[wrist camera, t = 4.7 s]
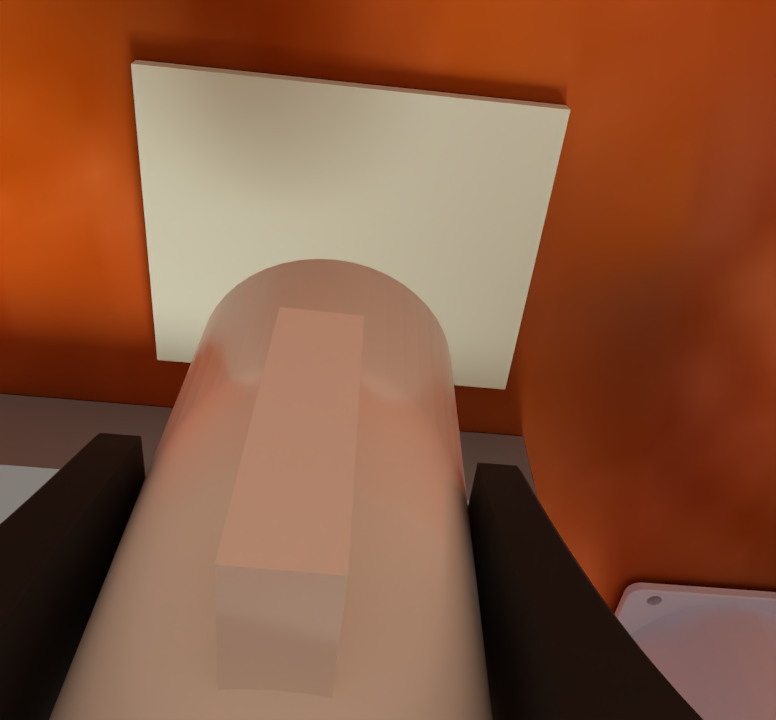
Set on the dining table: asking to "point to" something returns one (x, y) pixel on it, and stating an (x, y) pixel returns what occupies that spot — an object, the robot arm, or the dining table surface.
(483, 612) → the robot arm
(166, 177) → the mat
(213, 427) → the cream strapped capsule
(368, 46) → the dining table surface
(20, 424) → the holder
